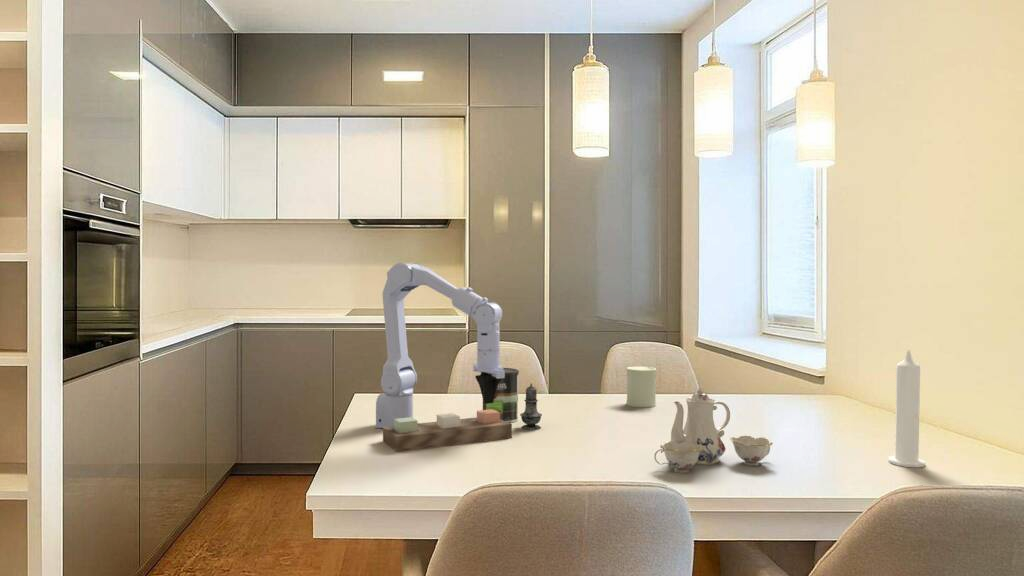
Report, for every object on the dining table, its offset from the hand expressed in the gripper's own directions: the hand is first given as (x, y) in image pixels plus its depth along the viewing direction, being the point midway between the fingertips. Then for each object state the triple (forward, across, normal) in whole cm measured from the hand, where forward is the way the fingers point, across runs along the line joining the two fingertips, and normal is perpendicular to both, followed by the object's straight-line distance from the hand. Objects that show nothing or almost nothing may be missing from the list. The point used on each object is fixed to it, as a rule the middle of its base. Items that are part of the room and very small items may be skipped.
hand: (488, 402), depth 178 cm
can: (+8, +15, -60) cm, 63 cm away
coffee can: (+8, +15, -11) cm, 20 cm away
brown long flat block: (+8, 0, +11) cm, 14 cm away
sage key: (+5, 0, +22) cm, 23 cm away
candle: (+9, -65, -71) cm, 97 cm away
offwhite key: (+5, 0, +11) cm, 12 cm away
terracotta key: (+5, 0, 0) cm, 5 cm away
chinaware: (+9, -45, -32) cm, 56 cm away
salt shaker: (+8, +2, -14) cm, 16 cm away
